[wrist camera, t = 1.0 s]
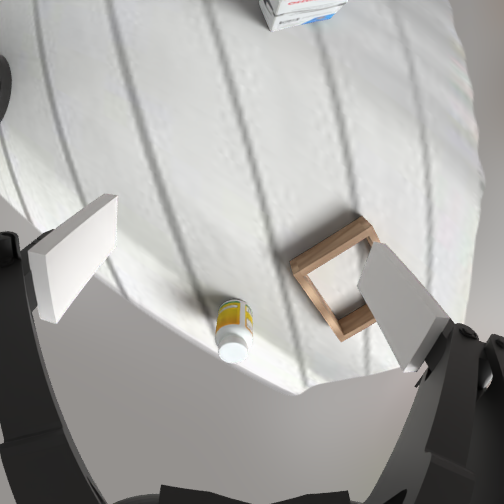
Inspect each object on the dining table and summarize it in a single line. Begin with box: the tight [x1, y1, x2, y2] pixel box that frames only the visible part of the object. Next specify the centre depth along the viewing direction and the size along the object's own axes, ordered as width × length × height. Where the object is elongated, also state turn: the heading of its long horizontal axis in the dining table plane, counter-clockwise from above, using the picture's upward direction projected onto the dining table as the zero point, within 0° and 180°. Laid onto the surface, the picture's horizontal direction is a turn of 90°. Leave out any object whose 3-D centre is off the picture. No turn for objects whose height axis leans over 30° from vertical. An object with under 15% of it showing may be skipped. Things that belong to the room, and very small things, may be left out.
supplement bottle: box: [215, 300, 253, 363], centre depth 45 cm, size 5×5×10 cm
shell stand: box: [289, 216, 380, 342], centre depth 45 cm, size 16×12×4 cm
